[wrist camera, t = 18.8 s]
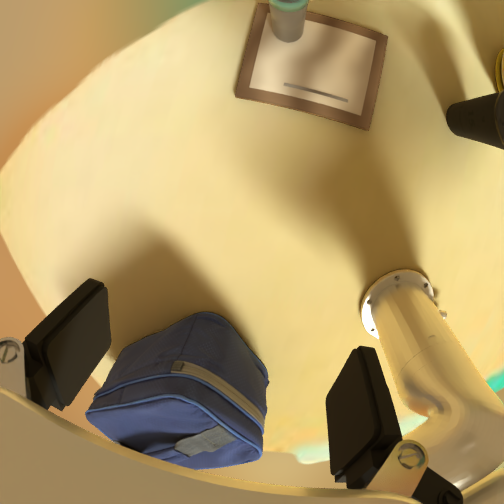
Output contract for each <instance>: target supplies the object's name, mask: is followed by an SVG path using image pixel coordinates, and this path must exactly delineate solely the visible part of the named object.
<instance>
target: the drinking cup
mask: <svg viewBox="0 0 504 504" xmlns="http://www.w3.org/2000/svg"><path fill="white" fill-rule="evenodd" d="M446 118H447V123H448V126H449V128H450V130H451V131H452V132H453V133H454V134H455V135H457V136H461V137H464V138H468V139H471V140H475V141H478V142H482V143H485V144H488V145H491V146H495V147H498V148H501V149H504V89H503V90H502V91H501V92H498V93H494V94H490V95H486V96H482V97H478V98H474V99H471V100H467V101H463V102H460V103H456V104H453V105H451V106H450V107H449V109H448V111H447V116H446Z"/></svg>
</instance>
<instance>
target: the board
mask: <svg viewBox="0 0 504 504" xmlns="http://www.w3.org/2000/svg"><path fill="white" fill-rule="evenodd" d="M387 39H388V36H386V35H383V34H381V33H378V32H375V31H372V30H370V29H367V28H364V27H361V26H358V25H355V24H352V23H349V22H345V21H342V20H339V19H335V18H331V17H328V16H324V15H320V14H316V13H312V12H307V11H306V17H305V23H304V29H303V34H302V36H301V38H300V39H298V40H297V41H294V42H290V43H287V42H283V41H281V40H279V39H278V38H276V36H275V35H274V33H273V27H272V20H271V13H270V6H269V4H264V3H258V7H257V10H256V14H255V17H254V21H253V25H252V29H251V33H250V36H249V40H248V44H247V48H246V52H245V56H244V60H243V64H242V68H241V73H240V77H239V81H238V85H237V90H236V94H235V97H236V98H241V99H246V100H252V101H257V102H262V103H267V104H272V105H276V106H281V107H285V108H289V109H294V110H298V111H302V112H306V113H309V114H313V115H317V116H321V117H324V118H328V119H331V120H335V121H338V122H341V123H344V124H348V125H351V126H354V127H357V128H360V129H363V130H366V131H369V128H370V124H371V119H372V115H373V111H374V106H375V102H376V97H377V92H378V88H379V83H380V78H381V73H382V67H383V62H384V57H385V51H386V45H387Z"/></svg>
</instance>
